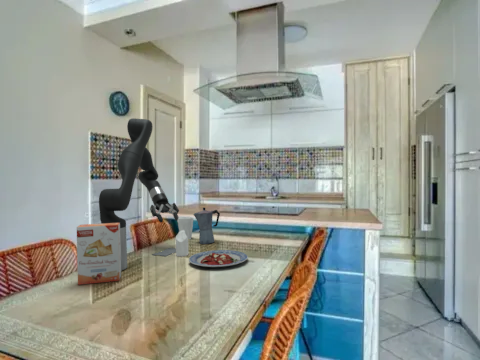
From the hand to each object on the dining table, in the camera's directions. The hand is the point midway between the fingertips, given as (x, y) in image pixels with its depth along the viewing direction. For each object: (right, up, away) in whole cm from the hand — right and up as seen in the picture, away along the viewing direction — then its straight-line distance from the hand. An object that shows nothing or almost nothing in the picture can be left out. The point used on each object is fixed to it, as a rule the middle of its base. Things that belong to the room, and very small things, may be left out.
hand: (169, 220), depth 154 cm
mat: (0, -16, -3) cm, 16 cm away
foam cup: (+3, -15, +29) cm, 33 cm away
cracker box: (-16, -17, -43) cm, 48 cm away
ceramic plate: (+26, -16, -21) cm, 37 cm away
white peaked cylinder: (+8, -16, -8) cm, 19 cm away
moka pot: (+17, -15, +18) cm, 29 cm away
